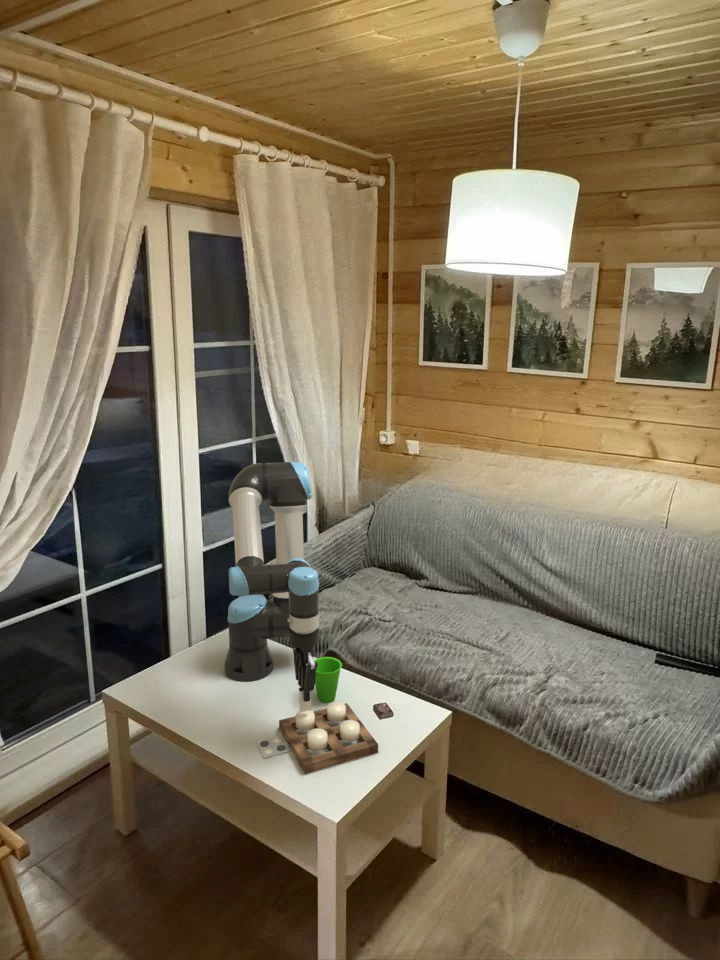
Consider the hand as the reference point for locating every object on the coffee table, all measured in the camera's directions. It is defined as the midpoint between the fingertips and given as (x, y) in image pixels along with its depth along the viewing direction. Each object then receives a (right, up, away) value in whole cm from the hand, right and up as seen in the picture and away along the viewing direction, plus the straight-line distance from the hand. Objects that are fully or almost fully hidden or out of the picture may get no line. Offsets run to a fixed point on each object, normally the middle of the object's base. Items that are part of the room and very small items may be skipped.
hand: (305, 709), depth 180 cm
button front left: (+12, -6, -3) cm, 14 cm away
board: (+6, -8, 0) cm, 10 cm away
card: (-8, -9, -3) cm, 12 cm away
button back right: (0, -5, +1) cm, 5 cm away
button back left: (+8, -4, +5) cm, 10 cm away
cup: (+5, -3, +19) cm, 20 cm away
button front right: (+4, -7, -6) cm, 10 cm away
